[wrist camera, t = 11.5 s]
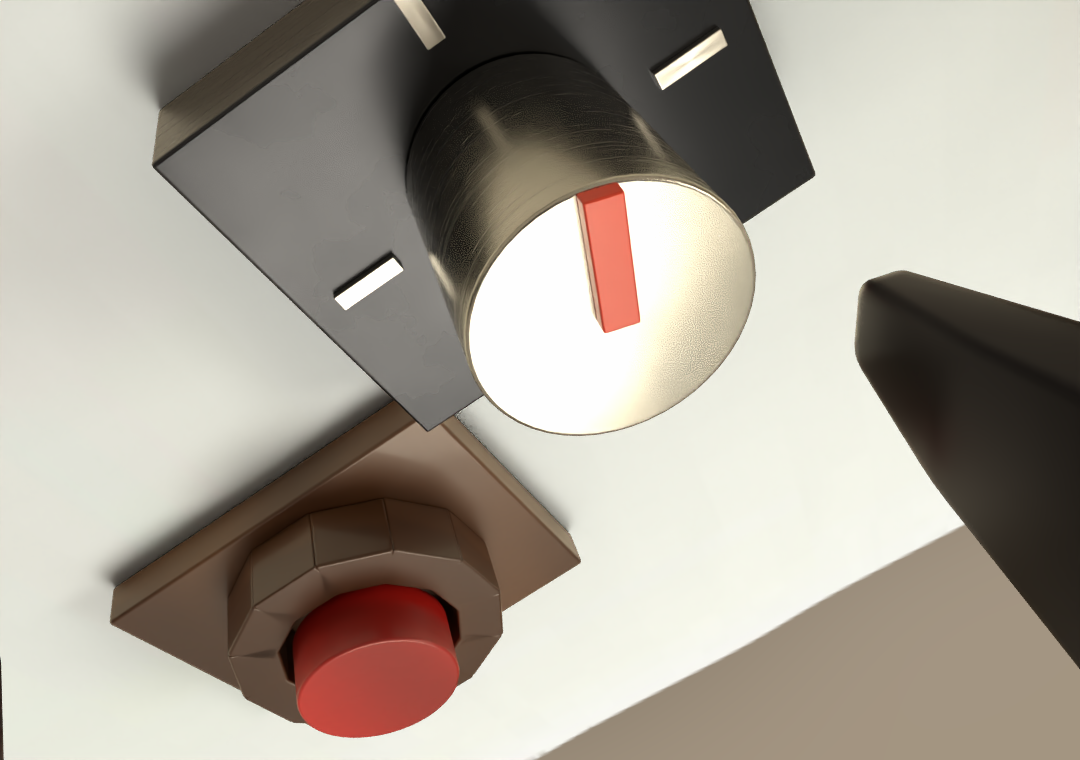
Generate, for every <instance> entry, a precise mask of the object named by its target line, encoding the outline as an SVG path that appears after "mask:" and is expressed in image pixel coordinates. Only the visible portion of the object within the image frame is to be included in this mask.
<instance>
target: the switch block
mask: <svg viewBox="0 0 1080 760" xmlns="http://www.w3.org/2000/svg"><path fill="white" fill-rule="evenodd" d="M580 562H581V559H580V557H579V554H578V552H577V549H576V547H575V545H574V542H573V540H572V537H571V535H570V534H569V533H568V532H567V531H566V530H565V529H564V528H563V527H562V525H561V524H560V523H559V522H558V521H557V520H556V519H555V518H554V517H553V516H552V515H551V514H550V513H549V512H548V511H547V510H546V509H545V508H544V507H543V506H542V505H541V504H540V503H539V502H538V501H537V500H536V499H535V498H534V497H533V496H532V495H531V494H530V493H529V492H528V491H527V490H526V489H525V488H524V487H523V486H522V485H521V484H520V483H519V482H518V481H517V480H516V478H515V477H514V476H513V475H512V474H511V473H510V472H509V471H508V470H507V469H506V468H505V467H504V466H503V465H502V464H501V463H500V462H499V461H498V460H497V459H496V458H495V457H494V456H493V455H492V454H491V453H490V452H489V451H488V450H487V449H486V448H485V447H484V446H483V445H482V444H481V443H480V442H479V441H478V440H477V439H476V438H475V437H474V436H473V435H472V434H471V433H470V432H469V430H468V429H467V428H466V427H465V426H464V425H463V424H462V423H461V422H460V421H459V420H458V419H457V418H456V417H455V416H454V415H453V416H452V417H450V418H449V419H447V420H446V421H444V422H443V423H441V424H440V425H438V426H437V427H435V428H434V429H432V430H431V431H428V432H427V431H426V430H424V429H423V428H422V427H421V426H420V425H419V424H418V423H417V422H416V421H415V420H414V419H413V418H412V417H411V416H410V415H409V414H408V413H407V412H406V411H405V410H404V409H403V408H402V407H401V406H400V405H399V404H398V403H396V402H395V401H392V402H391V403H389V404H388V405H386V406H385V407H383V408H382V409H380V410H379V411H377V412H376V413H374V414H373V415H371V416H370V417H368V418H367V419H365V420H364V421H363V422H361V423H360V424H358V425H357V426H355V427H354V428H352V429H351V430H349V431H348V432H346V433H345V434H343V435H342V436H340V437H339V438H337V439H336V440H334V441H333V442H331V443H330V444H328V445H327V446H325V447H324V448H322V449H321V450H319V451H318V452H316V453H315V454H313V455H312V456H310V457H309V458H307V459H306V460H304V461H303V462H301V463H300V464H298V465H297V466H296V467H294V468H293V469H291V470H290V471H288V472H287V473H285V474H284V475H282V476H281V477H279V478H278V479H276V480H275V481H273V482H272V483H270V484H269V485H267V486H266V487H264V488H263V489H261V490H260V491H258V492H257V493H255V494H254V495H252V496H251V497H249V498H248V499H246V500H245V501H243V502H242V503H240V504H239V505H237V506H236V507H234V508H233V509H231V510H230V511H228V512H227V513H226V514H224V515H223V516H221V517H220V518H218V519H217V520H215V521H214V522H212V523H211V524H209V525H208V526H206V527H205V528H203V529H202V530H200V531H199V532H197V533H196V534H194V535H193V536H191V537H190V538H188V539H187V540H185V541H184V542H182V543H181V544H179V545H178V546H176V547H175V548H173V549H172V550H170V551H169V552H167V553H166V554H164V555H163V556H161V557H160V558H159V559H157V560H156V561H154V562H153V563H151V564H150V565H148V566H147V567H145V568H144V569H142V570H141V571H139V572H138V573H136V574H135V575H133V576H132V577H130V578H129V579H127V580H126V581H124V582H123V583H121V584H120V585H118V586H117V587H116V588H115V589H114V591H113V599H112V608H111V616H110V623H111V624H112V625H113V626H115V627H117V628H119V629H121V630H123V631H125V632H127V633H129V634H131V635H133V636H135V637H137V638H139V639H141V640H143V641H145V642H147V643H149V644H151V645H153V646H155V647H157V648H158V649H160V650H162V651H164V652H166V653H168V654H170V655H172V656H174V657H176V658H178V659H180V660H182V661H184V662H186V663H188V664H190V665H192V666H194V667H196V668H198V669H200V670H202V671H204V672H206V673H208V674H210V675H211V676H213V677H215V678H217V679H219V680H221V681H223V682H225V683H227V684H229V685H231V686H233V687H235V688H237V689H239V690H241V692H242V694H243V696H244V697H245V698H246V699H247V700H249V701H251V702H253V703H255V704H257V705H259V706H261V707H263V708H265V709H267V710H269V711H271V712H273V713H275V714H276V715H278V716H280V717H282V718H284V719H286V720H288V721H290V722H293V723H306V724H308V723H307V722H306V721H305V720H304V719H303V718H302V716H301V715H300V712H299V710H298V707H297V700H296V687H295V674H294V661H293V639H294V636H295V633H296V631H297V629H298V627H299V625H300V624H301V622H302V621H303V619H304V618H305V617H306V616H307V615H308V614H309V613H310V612H311V611H313V610H314V609H316V608H317V607H319V606H320V605H322V604H323V603H325V602H327V601H328V600H330V599H331V598H333V597H334V596H336V595H338V594H343V593H347V592H351V591H356V590H360V589H365V588H369V587H373V586H378V585H382V584H390V585H398V586H405V587H413V588H419V589H421V590H424V591H426V592H428V593H429V594H431V595H432V596H434V597H435V598H436V599H437V600H438V601H439V602H440V604H441V605H442V606H443V608H444V610H445V612H446V616H447V620H448V624H449V628H450V632H451V636H452V640H453V644H454V648H455V653H456V657H457V661H458V665H459V678H458V683H457V685H456V687H457V686H458V685H460V684H462V683H463V682H465V681H467V680H468V679H470V678H471V677H472V676H473V674H475V672H476V671H477V669H478V668H479V667H480V665H481V664H482V662H483V661H484V660H485V658H486V657H487V655H488V654H489V653H490V651H491V650H492V648H493V647H494V646H495V644H496V643H497V641H498V640H499V639H500V637H501V634H502V633H503V623H502V612H503V611H504V610H506V609H507V608H509V607H511V606H512V605H514V604H515V603H517V602H519V601H520V600H522V599H523V598H525V597H527V596H528V595H530V594H531V593H533V592H535V591H536V590H538V589H540V588H541V587H543V586H544V585H546V584H548V583H549V582H551V581H552V580H554V579H556V578H557V577H559V576H560V575H562V574H564V573H565V572H567V571H569V570H570V569H572V568H573V567H575V566H577V565H578V564H580ZM308 725H309V724H308Z"/></svg>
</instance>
